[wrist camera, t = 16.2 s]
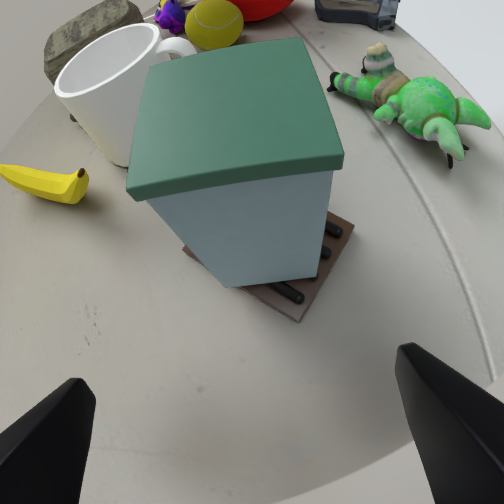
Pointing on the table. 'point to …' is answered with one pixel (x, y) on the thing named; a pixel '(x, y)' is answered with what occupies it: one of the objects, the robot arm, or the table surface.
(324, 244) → the dish rack
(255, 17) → the tomato
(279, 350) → the table surface
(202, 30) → the tennis ball
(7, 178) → the banana
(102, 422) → the table surface
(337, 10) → the handgun
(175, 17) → the toy
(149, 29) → the mug
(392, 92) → the toy
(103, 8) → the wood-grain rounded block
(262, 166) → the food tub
